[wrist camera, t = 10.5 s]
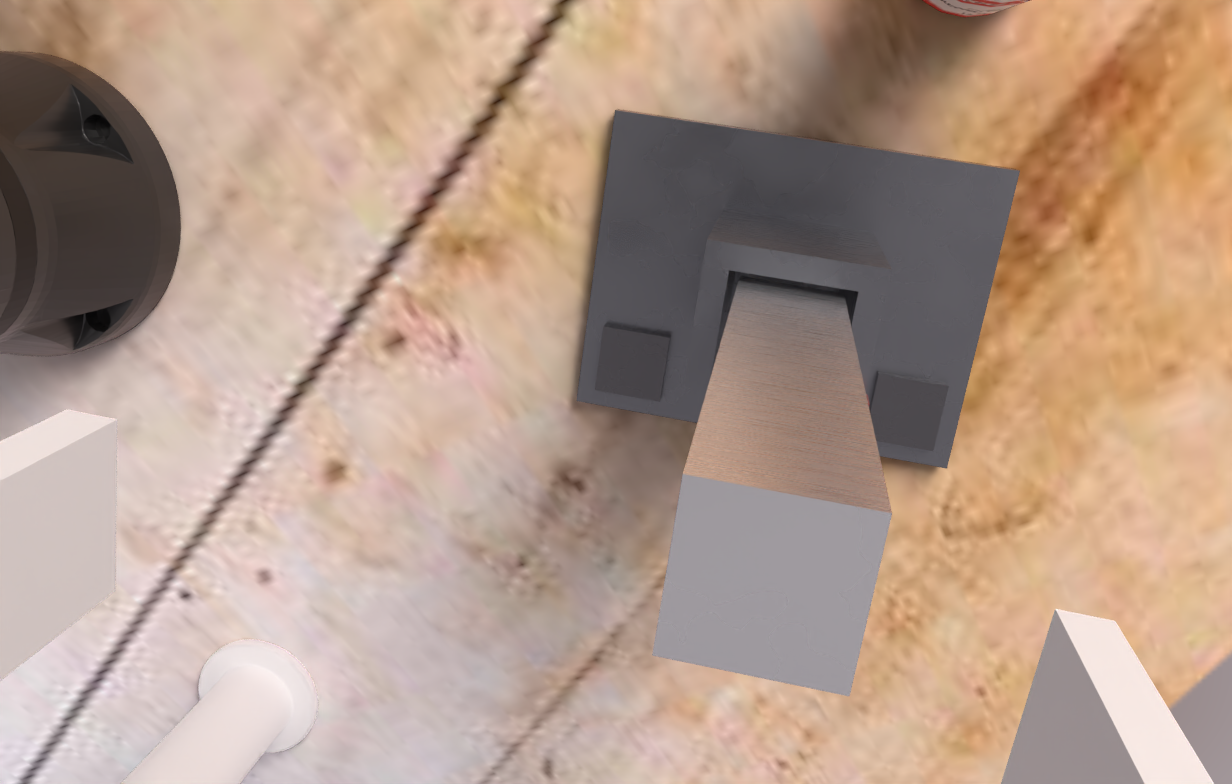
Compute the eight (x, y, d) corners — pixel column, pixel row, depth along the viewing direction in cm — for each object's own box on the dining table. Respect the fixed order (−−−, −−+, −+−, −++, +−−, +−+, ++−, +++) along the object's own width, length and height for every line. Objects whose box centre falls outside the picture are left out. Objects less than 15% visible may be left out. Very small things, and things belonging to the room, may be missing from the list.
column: (719, 395, 43) (645, 693, 22) (740, 275, 42) (682, 474, 21) (819, 413, 43) (840, 734, 22) (844, 292, 41) (892, 513, 20)
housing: (580, 395, 54) (521, 481, 43) (618, 109, 50) (565, 118, 38) (944, 461, 52) (986, 570, 41) (1015, 169, 48) (1085, 198, 36)
